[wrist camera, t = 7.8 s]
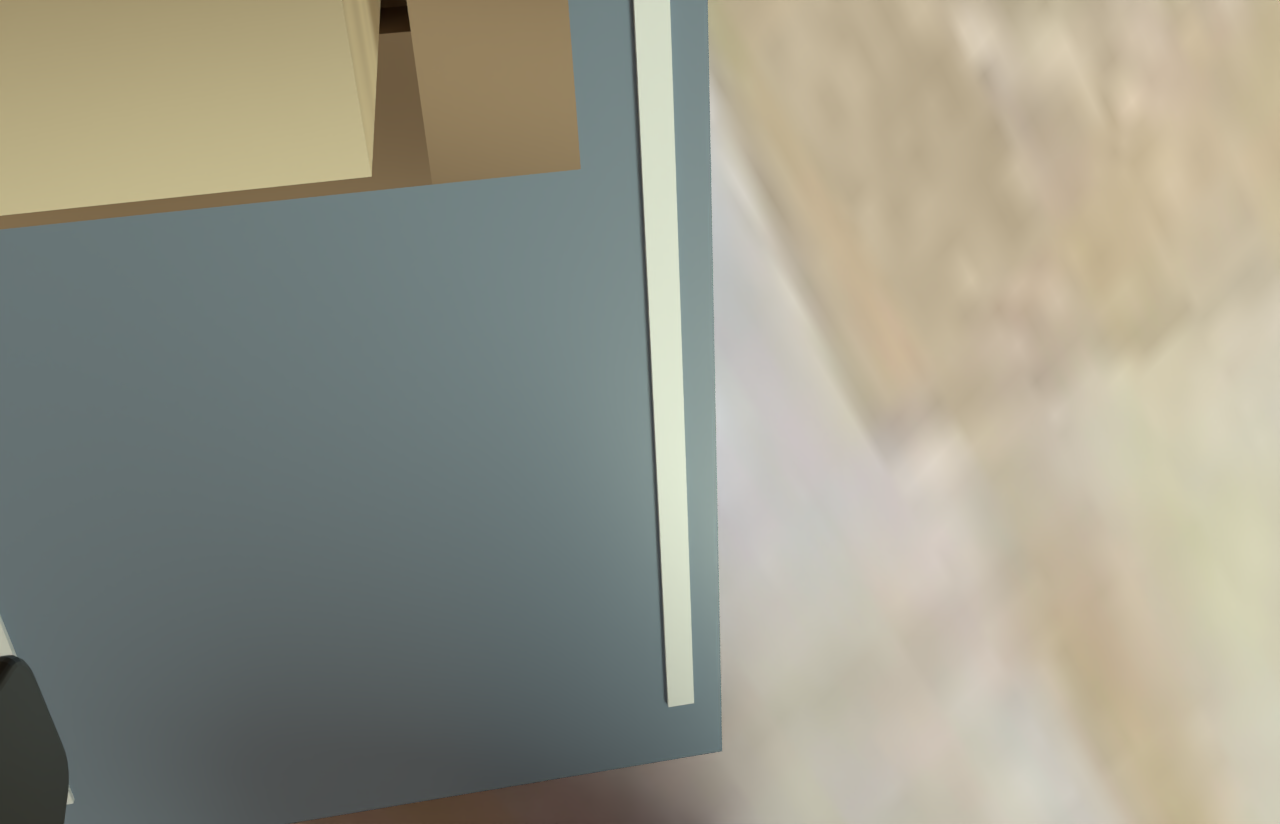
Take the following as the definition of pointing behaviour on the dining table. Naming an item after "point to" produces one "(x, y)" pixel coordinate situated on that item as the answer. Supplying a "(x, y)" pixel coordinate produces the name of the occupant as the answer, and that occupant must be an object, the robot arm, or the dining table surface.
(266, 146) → the oak block
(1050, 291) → the dining table surface
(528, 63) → the base block
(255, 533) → the board
